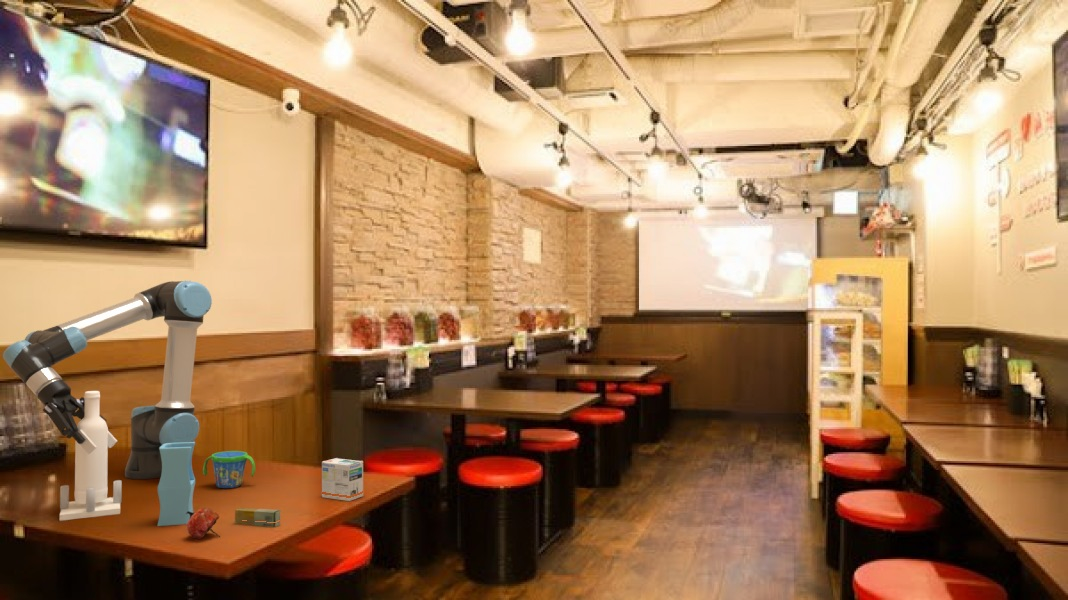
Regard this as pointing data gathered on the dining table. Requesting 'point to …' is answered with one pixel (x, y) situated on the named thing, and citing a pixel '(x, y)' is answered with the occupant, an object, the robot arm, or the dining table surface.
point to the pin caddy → (90, 504)
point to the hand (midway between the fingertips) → (103, 447)
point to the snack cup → (229, 468)
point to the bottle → (95, 464)
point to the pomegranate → (201, 522)
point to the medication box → (257, 517)
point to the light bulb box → (342, 478)
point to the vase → (176, 483)
